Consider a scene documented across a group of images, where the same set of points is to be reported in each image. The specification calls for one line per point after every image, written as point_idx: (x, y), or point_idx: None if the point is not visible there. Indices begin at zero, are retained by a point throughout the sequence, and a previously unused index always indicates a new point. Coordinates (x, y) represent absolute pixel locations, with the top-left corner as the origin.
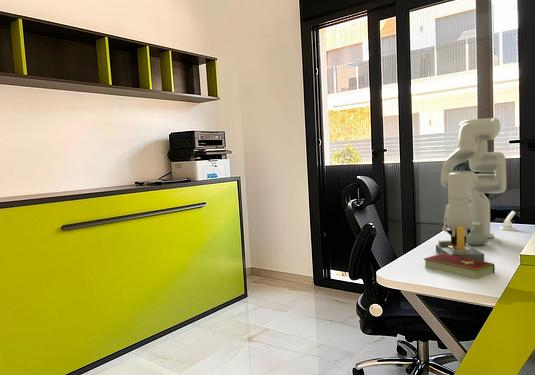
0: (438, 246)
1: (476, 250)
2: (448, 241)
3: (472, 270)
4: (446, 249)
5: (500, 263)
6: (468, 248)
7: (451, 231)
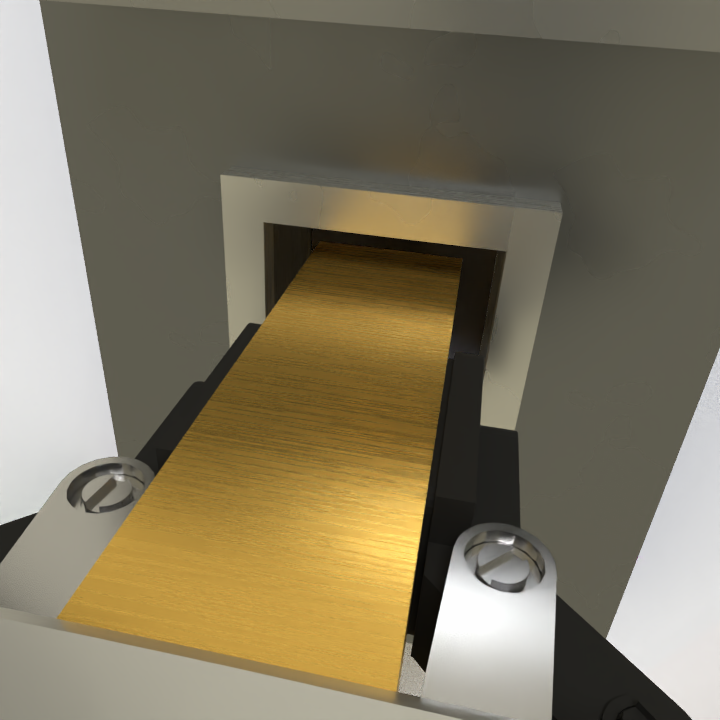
0: (50, 42)
1: (625, 517)
2: (255, 13)
3: None
4: (157, 325)
5: (698, 688)
6: (587, 363)
7: (55, 586)
